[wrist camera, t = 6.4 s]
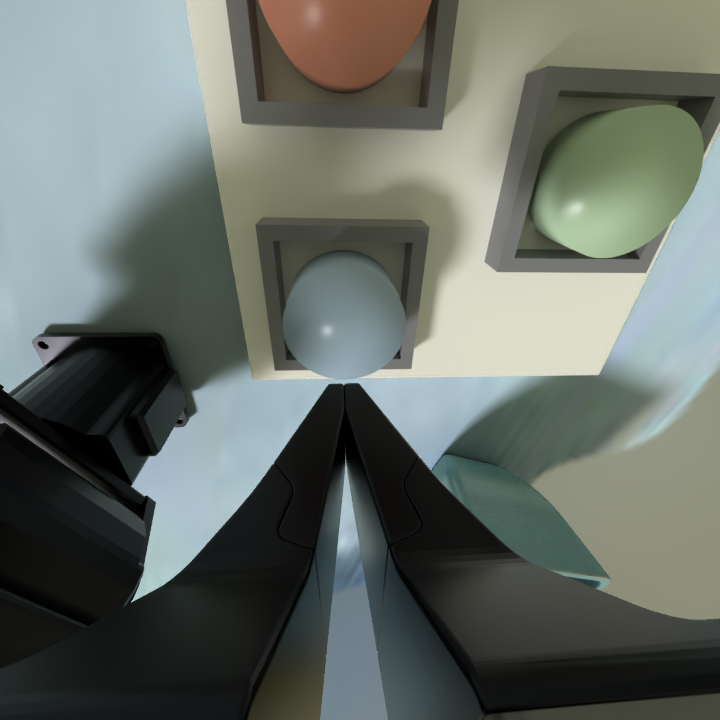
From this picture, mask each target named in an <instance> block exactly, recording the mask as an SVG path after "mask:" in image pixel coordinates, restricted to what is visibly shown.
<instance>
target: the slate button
mask: <svg viewBox="0 0 720 720" xmlns="http://www.w3.org/2000/svg"><path fill="white" fill-rule="evenodd" d="M282 326H283V335H284V339H285V342H286V344H287V346H288V348H289V350H290V352H291V353H292V355H293V356H294V357H295V358H296V359H297V361H298V362H300V363H301V364H302V365H303V366H304V367H306V368H307V369H309V370H310V371H312V372H314V373H316V374H319V375H321V376H324V377H328V378H333V379H355V378H360V377H364V376H367V375H369V374H372V373H374V372H376V371H378V370H379V369H381V368H382V367H384V366H385V365H386V364H387V363H388V362H390V361H391V360H392V358H393V357H394V356H395V355H396V353H397V352H398V350H399V349H400V347H401V345H402V342H403V339H404V336H405V331H406V317H405V312H404V308H403V305H402V303H401V300H400V298H399V295H398V293H397V291H396V288H395V286H394V283H393V281H392V278H391V277H390V275H389V273H388V272H387V271H386V269H385V268H384V267H383V266H382V265H381V264H380V263H379V262H377V261H376V260H375V259H373V258H371V257H370V256H368V255H366V254H363V253H360V252H356V251H352V250H335V251H330V252H326V253H323V254H321V255H319V256H317V257H315V258H313V259H312V260H310V261H309V262H308V263H307V264H306V265H304V266H303V268H302V269H301V270H300V271H299V273H298V274H297V276H296V277H295V280H294V282H293V284H292V287H291V291H290V294H289V297H288V300H287V304H286V307H285V310H284V314H283V321H282Z"/></svg>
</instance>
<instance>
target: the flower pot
mask: <svg viewBox="0 0 720 720" xmlns="http://www.w3.org/2000/svg"><path fill="white" fill-rule="evenodd" d="M432 472H433V473H434V475H435V476H436V477H437V478H438V479H439V480H440V481H441V483H442V484H443V485H444V486H445V487H446V488H447V489H448V490H449V491H450V492H451V493H452V494H453V495H454V496H455V497H456V498H457V499H458V500H459V501H460V502H461V503H462V504H463V505H465V506H466V507H467V508H468V509H469V510H470V511H471V512H472V513H473V514H474V515H475V516H476V517H477V518H478V519H479V520H480V521H481V522H482V523H483V524H484V525H485V526H486V527H487V528H488V529H490V530H491V531H492V532H493V533H494V534H495V535H496V536H497V537H498V538H499V539H500V540H501V541H502V542H503V543H504V544H506V545H507V546H508V547H509V548H510V549H512V550H513V551H514V552H515V553H517V554H518V555H520V556H521V557H523V558H524V559H526V560H528V561H530V562H532V563H534V564H536V565H538V566H541V567H543V568H546V569H548V570H551V571H553V572H556V573H558V574H561V575H563V576H566V577H568V578H571V579H573V580H575V581H578V582H580V583H583V584H585V585H588V586H590V587H593V588H595V589H598V590H601V589H603V588H604V587H606V586H607V585H608V584H609V583H610V582H611V578H610V577H609V576H608V574H607V573H606V572H605V571H604V570H603V568H602V567H601V565H600V564H599V563H598V562H597V560H596V559H595V558H594V557H593V555H592V554H591V553H590V552H589V550H588V549H587V548H586V546H585V545H584V544H583V542H582V541H581V540H580V539H579V537H578V536H577V535H576V534H575V532H574V531H573V530H572V528H571V527H570V526H569V525H568V523H567V522H566V521H565V520H564V518H563V517H562V516H561V515H560V513H559V512H558V511H557V510H556V509H555V508H554V507H553V506H552V504H551V503H550V502H549V501H548V500H547V499H546V498H545V497H543V496H542V495H541V494H540V493H539V492H538V491H537V490H535V489H534V488H533V487H531V486H530V485H529V484H527V483H526V482H525V481H523V480H521V479H520V478H518V477H517V476H515V475H513V474H512V473H510V472H508V471H506V470H505V469H503V468H501V467H499V466H496V465H492V464H487V463H483V462H479V461H474V460H470V459H466V458H462V457H458V456H454V455H444V456H443V457H442V458H441V459H440V460H439V461H438V463H437V464H436V466H435V467H434V469H433V470H432Z"/></svg>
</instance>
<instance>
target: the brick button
mask: <svg viewBox="0 0 720 720" xmlns="http://www.w3.org/2000/svg"><path fill="white" fill-rule="evenodd" d="M258 1H259V4H260V7H261V10H262V12H263V14H264V16H265V19H266V21H267V23H268V25H269V27H270V28H271V30H272V32H273V34H274V36H275V37H276V39H277V41H278V42H279V44H280V46H281V48H282V49H283V51H284V53H285V54H286V56H287V58H288V59H289V60H290V62H291V63H292V65H293V66H294V67H295V68H296V69H297V70H298V71H299V72H300V74H302V75H303V76H304V77H305V78H306V79H307V80H308V81H310V82H311V83H313V84H315V85H316V86H318V87H320V88H322V89H324V90H327V91H331V92H334V93H342V94H348V93H356V92H361V91H363V90H366V89H368V88H370V87H372V86H374V85H376V84H377V83H379V82H380V81H381V80H382V79H384V78H385V77H386V76H387V75H388V74H389V73H390V72H391V71H392V70H393V68H394V67H395V66H396V65H397V63H398V62H399V61H400V59H401V58H402V57H403V55H404V54H405V53H406V52H407V50H408V49H409V48H410V46H411V45H412V44H413V42H414V40H415V38H416V37H417V35H418V33H419V32H420V30H421V27H422V25H423V23H424V21H425V19H426V16H427V13H428V10H429V7H430V4H431V1H432V0H258Z"/></svg>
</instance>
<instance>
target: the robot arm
mask: <svg viewBox="0 0 720 720" xmlns="http://www.w3.org/2000/svg"><path fill="white" fill-rule="evenodd" d="M150 340H151V341H154V342H155V343H156V344H157V345H154V344H152V343H151V342H150ZM44 342H45V343H47V344H48V345H47V344H45V343H44ZM32 343H33V346H34V348H35V349H36V351H37V353H38V355H39V356H40V358H41V360H42V362H43V364H44V365H45V366H44V367H42V368H41V369H40V370H38V371H37V372H36V373H35V374H33V375H32V376H31V377H29V378H28V379H27V380H25V381H24V382H23V383H21V384H20V385H19V386H18V387H16V388H15V389H14V390H12V391H11V392H10V393H6V392H5V391H4V390H2V389H3V388H4V387H3V386H2V385H0V720H320V714H321V704H322V694H323V683H324V673H325V664H326V653H327V643H328V634H329V623H330V613H331V604H332V594H333V584H334V574H335V564H336V554H337V544H338V534H339V524H340V514H341V504H342V494H343V484H344V474H345V449H346V465H347V472H348V478H349V484H350V490H351V496H352V502H353V508H354V514H355V520H356V526H357V532H358V539H359V545H360V551H361V557H362V563H363V569H364V575H365V581H366V587H367V593H368V599H369V605H370V611H371V617H372V623H373V630H374V635H375V642H376V648H377V651H378V660H379V666H380V672H381V678H382V684H383V691H384V697H385V703H386V709H387V714H388V720H720V619H707V620H691V619H684V618H678V617H672V616H669V615H665V614H661V613H658V612H654V611H651V610H648V609H646V608H642V607H640V606H637V605H635V604H632V603H630V602H627V601H625V600H622V599H620V598H617V597H615V596H613V595H610V594H608V593H605V592H602V591H600V590H598V589H595V588H593V587H590V586H588V585H585V584H583V583H580V582H578V581H575V580H573V579H571V578H568V577H566V576H563V575H561V574H558V573H556V572H553V571H551V570H548V569H546V568H543V567H541V566H538V565H536V564H534V563H532V562H530V561H528V560H526V559H524V558H523V557H521V556H520V555H518V554H517V553H515V552H514V551H513V550H512V549H510V548H509V547H508V546H507V545H506V544H504V543H503V542H502V541H501V540H500V539H499V538H498V537H497V536H496V535H495V534H494V533H493V532H492V531H491V530H490V529H488V528H487V527H486V526H485V525H484V524H483V523H482V522H481V521H480V520H479V519H478V518H477V517H476V516H475V515H474V514H473V513H472V512H471V511H470V510H469V509H468V508H467V507H466V506H465V505H463V504H462V503H461V502H460V501H459V500H458V499H457V498H456V497H455V496H454V495H453V494H452V493H451V492H450V491H449V490H448V489H447V488H446V487H445V486H444V485H443V484H442V483H441V481H440V480H439V479H438V478H437V477H436V476H435V475H434V473H433V472H432V471H431V470H430V469H429V468H428V467H427V465H426V464H425V463H424V462H423V460H422V459H421V458H419V456H418V454H417V453H416V452H415V451H414V450H413V448H412V447H411V446H410V445H409V444H408V442H407V441H406V440H405V439H404V438H403V436H402V435H401V434H400V433H399V431H398V430H397V429H396V428H395V427H394V425H393V424H392V423H391V422H390V421H389V419H388V418H387V417H386V416H385V415H384V413H383V412H382V411H381V410H380V408H379V407H378V406H377V405H376V404H375V402H374V401H373V400H372V399H371V398H370V396H369V395H368V394H367V393H366V391H365V390H364V389H363V388H362V387H361V385H360V384H358V383H347V384H345V385H343V384H329V385H328V386H327V387H326V389H325V390H324V392H323V393H322V395H321V396H320V397H319V399H318V400H317V402H316V403H315V405H314V406H313V407H312V409H311V410H310V412H309V413H308V415H307V416H306V417H305V419H304V420H303V422H302V423H301V425H300V426H299V427H298V429H297V430H296V432H295V433H294V435H293V436H292V438H291V439H290V440H289V442H288V443H287V445H286V446H285V448H284V449H283V450H282V452H281V453H280V455H279V456H278V458H277V459H276V460H275V462H274V464H273V465H272V466H271V467H270V469H269V470H268V472H267V473H266V475H265V476H264V477H263V479H262V480H261V481H260V483H259V484H258V485H257V487H256V488H255V489H254V491H253V492H252V493H251V494H250V496H249V497H248V498H247V499H246V500H245V501H244V503H243V504H242V505H241V506H240V507H239V509H238V510H237V511H236V512H235V513H234V514H233V515H232V516H231V518H230V519H229V520H228V521H227V522H226V523H225V524H224V525H223V527H222V528H221V529H220V530H219V531H218V532H217V533H216V534H215V536H214V537H213V538H212V539H211V540H210V541H209V542H208V543H207V545H206V546H205V547H204V548H203V549H202V550H201V551H200V552H199V554H198V555H197V556H196V557H195V558H194V559H193V560H192V561H191V562H190V563H189V564H188V565H187V566H186V567H185V568H184V569H183V570H182V571H181V572H180V573H179V574H177V575H176V576H175V577H174V578H173V579H171V580H170V581H169V582H167V583H166V584H164V585H163V586H161V587H159V588H158V589H156V590H154V591H152V592H150V593H148V594H147V595H145V596H143V597H141V598H139V599H137V600H135V601H134V602H132V603H131V601H132V600H133V598H134V596H135V593H136V591H137V589H138V587H139V584H140V580H141V578H142V576H143V572H144V562H145V557H146V552H147V546H148V541H149V536H150V531H151V525H152V520H153V515H154V510H155V504H156V502H155V501H154V500H152V499H151V498H150V497H148V496H143V495H142V494H141V493H139V492H138V491H137V490H135V489H134V488H133V487H131V486H132V484H133V482H134V481H135V479H136V477H137V476H138V474H139V472H140V471H141V469H142V467H143V466H144V464H145V462H146V461H147V459H148V457H149V456H156V455H157V454H158V453H159V452H160V451H161V449H162V447H163V445H164V444H165V442H166V440H167V438H168V437H169V435H170V433H171V431H172V429H173V428H174V427H184V426H185V425H186V424H187V422H188V420H189V415H188V412H187V409H186V405H187V401H186V398H185V395H184V392H183V389H182V386H181V383H180V380H179V376H178V373H177V371H176V370H175V369H174V368H173V366H172V362H171V359H170V356H169V353H168V350H167V347H166V344H165V341H164V339H163V338H162V337H161V336H160V335H158V334H156V333H43V334H40V335H38V336H37V337H35V338H34V339H33V341H32ZM179 418H180V419H182V420H180V419H179Z"/></svg>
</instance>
